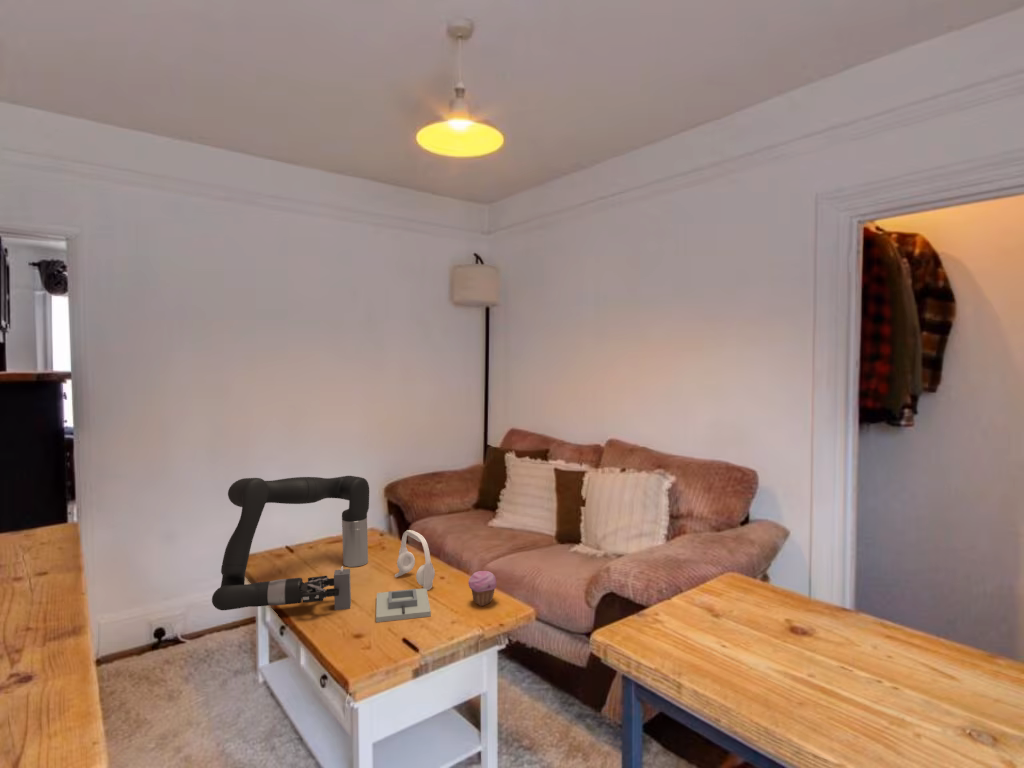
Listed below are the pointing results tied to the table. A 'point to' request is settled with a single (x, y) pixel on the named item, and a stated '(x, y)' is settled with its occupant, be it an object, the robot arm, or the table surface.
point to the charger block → (342, 589)
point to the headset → (408, 561)
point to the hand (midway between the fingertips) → (340, 586)
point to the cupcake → (482, 587)
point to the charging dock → (402, 605)
